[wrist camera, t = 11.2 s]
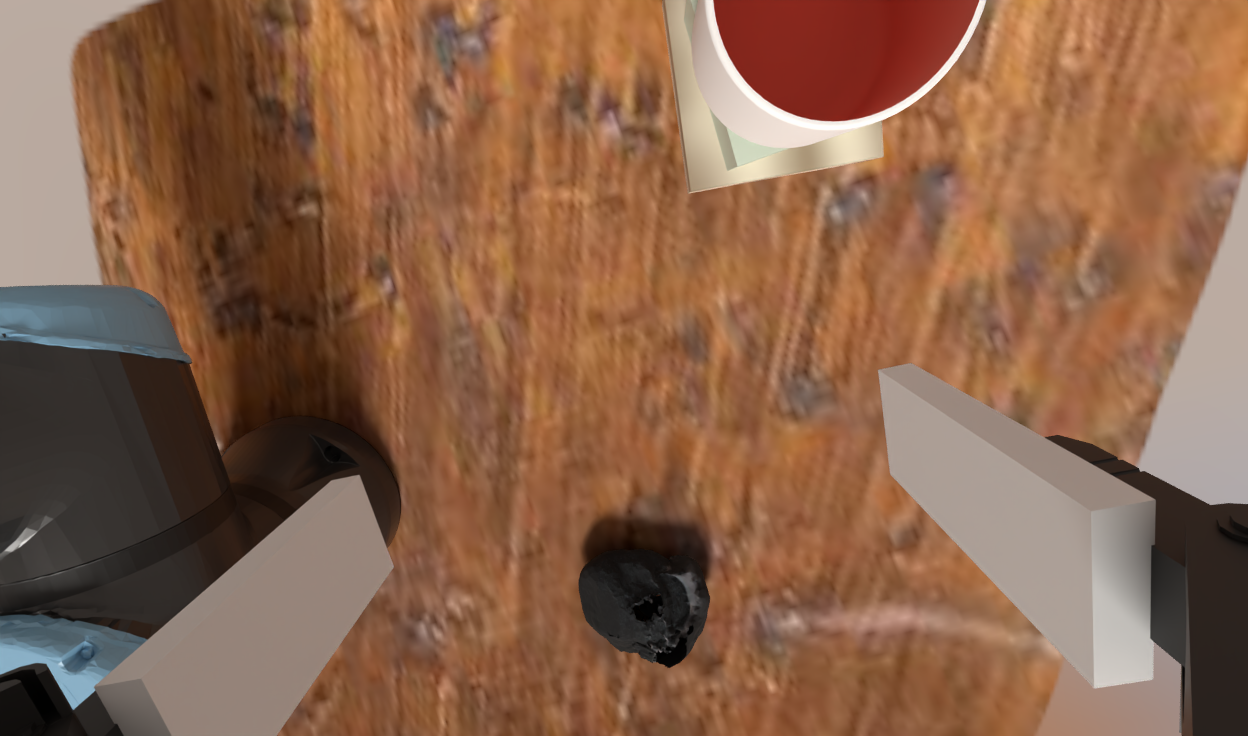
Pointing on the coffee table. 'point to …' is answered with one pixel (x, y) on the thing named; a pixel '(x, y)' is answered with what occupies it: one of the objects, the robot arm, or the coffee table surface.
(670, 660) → the rock
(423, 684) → the coffee table surface
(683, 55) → the tower base
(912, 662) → the coffee table surface
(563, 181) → the coffee table surface
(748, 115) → the cup
